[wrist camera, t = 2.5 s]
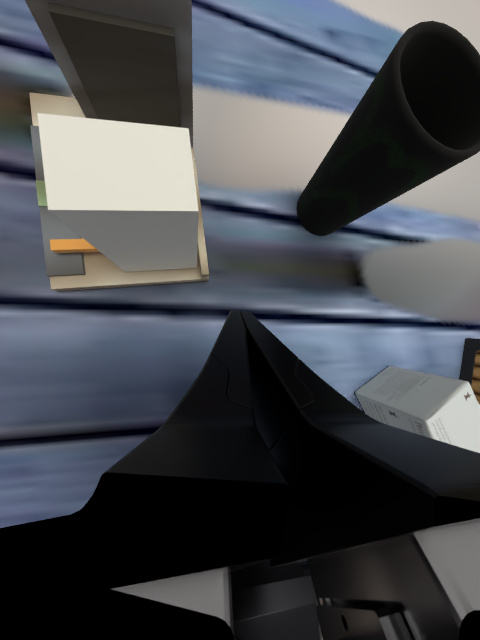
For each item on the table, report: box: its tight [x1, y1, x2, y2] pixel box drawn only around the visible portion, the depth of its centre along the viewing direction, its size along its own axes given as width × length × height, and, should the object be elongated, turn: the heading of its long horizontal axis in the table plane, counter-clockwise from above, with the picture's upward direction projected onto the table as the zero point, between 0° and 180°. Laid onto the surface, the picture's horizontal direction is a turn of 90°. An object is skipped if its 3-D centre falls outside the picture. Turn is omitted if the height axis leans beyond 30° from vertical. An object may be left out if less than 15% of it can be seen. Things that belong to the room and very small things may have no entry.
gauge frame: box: [25, 0, 209, 292], centre depth 13 cm, size 16×12×10 cm
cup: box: [297, 21, 480, 236], centre depth 17 cm, size 8×8×12 cm
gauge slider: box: [37, 113, 199, 272], centre depth 13 cm, size 4×10×9 cm, turn 98°
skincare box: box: [355, 366, 480, 453], centre depth 20 cm, size 6×6×7 cm
